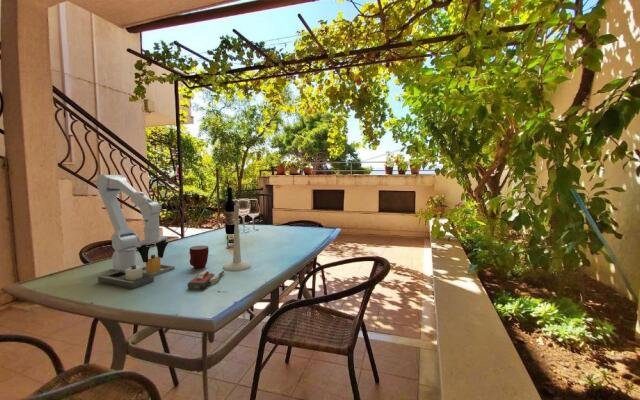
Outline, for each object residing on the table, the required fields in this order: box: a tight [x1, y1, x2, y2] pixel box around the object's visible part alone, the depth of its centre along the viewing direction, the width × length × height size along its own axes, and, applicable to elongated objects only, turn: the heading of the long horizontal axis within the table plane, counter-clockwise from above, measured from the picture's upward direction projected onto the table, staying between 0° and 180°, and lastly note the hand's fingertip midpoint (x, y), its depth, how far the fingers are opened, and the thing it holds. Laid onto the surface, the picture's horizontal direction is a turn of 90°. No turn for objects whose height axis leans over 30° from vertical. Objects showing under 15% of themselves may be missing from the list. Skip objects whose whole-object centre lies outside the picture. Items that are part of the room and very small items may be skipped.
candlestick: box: [222, 204, 252, 272], centre depth 141 cm, size 13×13×30 cm
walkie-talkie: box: [187, 270, 225, 291], centre depth 122 cm, size 9×4×20 cm
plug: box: [145, 254, 161, 273], centre depth 132 cm, size 4×4×7 cm
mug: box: [189, 245, 210, 270], centre depth 137 cm, size 11×8×10 cm
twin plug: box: [125, 265, 142, 280], centre depth 117 cm, size 4×4×7 cm
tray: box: [141, 263, 176, 277], centre depth 133 cm, size 12×12×2 cm
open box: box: [97, 270, 155, 290], centre depth 119 cm, size 19×9×3 cm, turn 69°
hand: (153, 259), depth 132 cm, fingers open, 7 cm apart
